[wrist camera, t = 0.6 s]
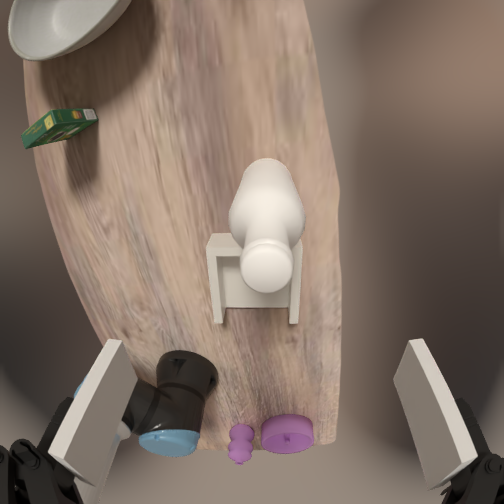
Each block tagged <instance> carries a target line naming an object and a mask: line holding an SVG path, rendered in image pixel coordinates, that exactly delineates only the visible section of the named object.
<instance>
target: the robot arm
mask: <svg viewBox="0 0 504 504" xmlns="http://www.w3.org/2000/svg"><path fill="white" fill-rule="evenodd" d="M156 376H157V388H156V387H154V386H152V385H150V384H149V383H147V382H145V381H143V380H142V379H140V378H138V377H137V376H136V374H135V371H134V369H133V367H132V364H131V362H130V359H129V357H128V354H127V352H126V349H125V347H124V344H123V341H122V340H114V339H108V341H107V342H106V344H105V346H104V347H103V349H102V351H101V353H100V354H99V356H98V358H97V359H96V361H95V363H94V365H93V366H92V368H91V370H90V372H89V373H88V375H87V376H86V377H85V378H84V380H83V382H82V383H81V384H80V386H79V387H78V389H77V390H76V392H75V394H74V399H73V398H70V397H67V398H66V399H65V400H64V401H63V402H62V403H60V405H59V406H58V409H57V410H56V412H55V415H54V416H53V417H52V420H51V422H50V423H49V425H48V427H47V429H46V431H45V433H44V435H43V437H42V439H41V441H40V443H39V445H38V446H37V448H35V446H33V444H32V443H31V442H30V441H29V440H26V439H19V440H17V441H15V442H14V443H13V444H12V445H11V448H10V451H8V450H7V449H6V448H4V447H3V446H1V445H0V504H98V503H99V500H100V497H101V494H102V490H103V487H104V484H105V481H106V479H107V475H108V473H109V470H110V467H111V464H112V461H113V458H114V456H115V452H116V450H117V447H118V445H119V442H120V440H122V439H126V438H129V437H130V435H131V432H132V433H134V434H136V435H138V436H140V437H139V444H140V445H141V446H142V447H144V449H146V450H148V451H150V452H153V453H156V454H159V455H164V456H171V457H181V456H187V455H189V454H191V453H193V452H194V451H195V449H196V447H197V443H198V439H199V438H200V430H201V424H202V419H203V413H204V408H205V403H206V401H207V399H208V398H209V396H210V395H211V393H212V392H213V390H214V389H215V387H216V384H217V379H218V373H217V370H216V368H215V367H214V365H213V364H212V363H211V362H210V361H209V360H207V359H206V358H204V357H202V356H201V355H198V354H196V353H193V352H189V351H182V350H176V351H170V352H167V353H165V354H164V355H162V356H161V358H160V359H159V362H158V365H157V368H156ZM393 381H394V383H395V386H396V389H397V391H398V394H399V397H400V400H401V403H402V406H403V408H404V411H405V414H406V417H407V420H408V423H409V426H410V429H411V433H412V436H413V439H414V442H415V446H416V448H417V452H418V456H419V459H420V463H421V466H422V470H423V473H424V477H425V481H426V484H427V489H428V491H429V490H432V489H435V488H438V487H440V486H443V485H444V484H446V483H447V482H448V481H451V485H450V486H449V487H447V488H446V489H445V490H443V492H442V493H441V495H443V494H445V493H446V492H447V493H446V495H445V498H444V500H443V502H442V504H504V458H501V457H500V456H498V455H497V454H492V453H491V452H490V450H489V448H488V446H487V443H486V441H485V438H484V436H483V434H482V431H481V429H480V427H479V425H478V424H477V420H476V418H475V417H474V414H473V412H472V409H471V407H470V406H469V404H468V403H467V402H466V401H465V400H464V399H463V398H459V399H456V400H454V399H453V397H452V394H451V392H450V390H449V388H448V386H447V384H446V382H445V380H444V378H443V376H442V374H441V372H440V370H439V368H438V366H437V365H436V363H435V361H434V359H433V357H432V355H431V353H430V351H429V349H428V348H427V346H426V344H425V342H424V340H423V339H415V340H409V341H408V344H407V347H406V349H405V352H404V354H403V357H402V359H401V362H400V364H399V367H398V370H397V372H396V374H395V376H394V379H393ZM15 486H16V487H15Z"/></svg>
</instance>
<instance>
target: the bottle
mask: <svg viewBox="0 0 504 504" xmlns="http://www.w3.org/2000/svg"><path fill="white" fill-rule="evenodd" d="M305 220H306V216H305V212H304V209H303V205H302V202H301V200H300V197H299V195H298V192H297V190H296V188H295V185H294V183H293V180H292V177H291V174H290V172H289V171H288V169H287V168H286V167H285V165H284V164H282V163H281V162H279V161H277V160H275V159H270V158H264V159H259V160H257V161H255V162H253V163H251V165H250V166H249V167H248V168H247V169H246V170H245V172H244V174H243V177H242V179H241V183H240V186H239V188H238V191H237V193H236V196H235V198H234V201H233V203H232V206H231V208H230V211H229V228H230V231H231V233H232V236H233V238H234V240H235V241H236V242H237V244H238V245H239V246H240V247H241V248H242V249H243V251H242V253H241V255H240V269H241V277H242V279H243V282H244V283H245V284H246V285H247V286H248V287H249V288H251V289H252V290H254V291H256V292H260V293H265V294H266V293H274V292H277V291H279V290H282V289H283V288H284V287H285V286H286V285H288V283H289V282H290V280H291V278H292V274H293V267H294V258H293V255H292V251H291V249H292V248H293V247H294V246H295V245H296V244H297V243H298V241H299V239H300V237H301V235H302V233H303V231H304V229H305Z"/></svg>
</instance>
